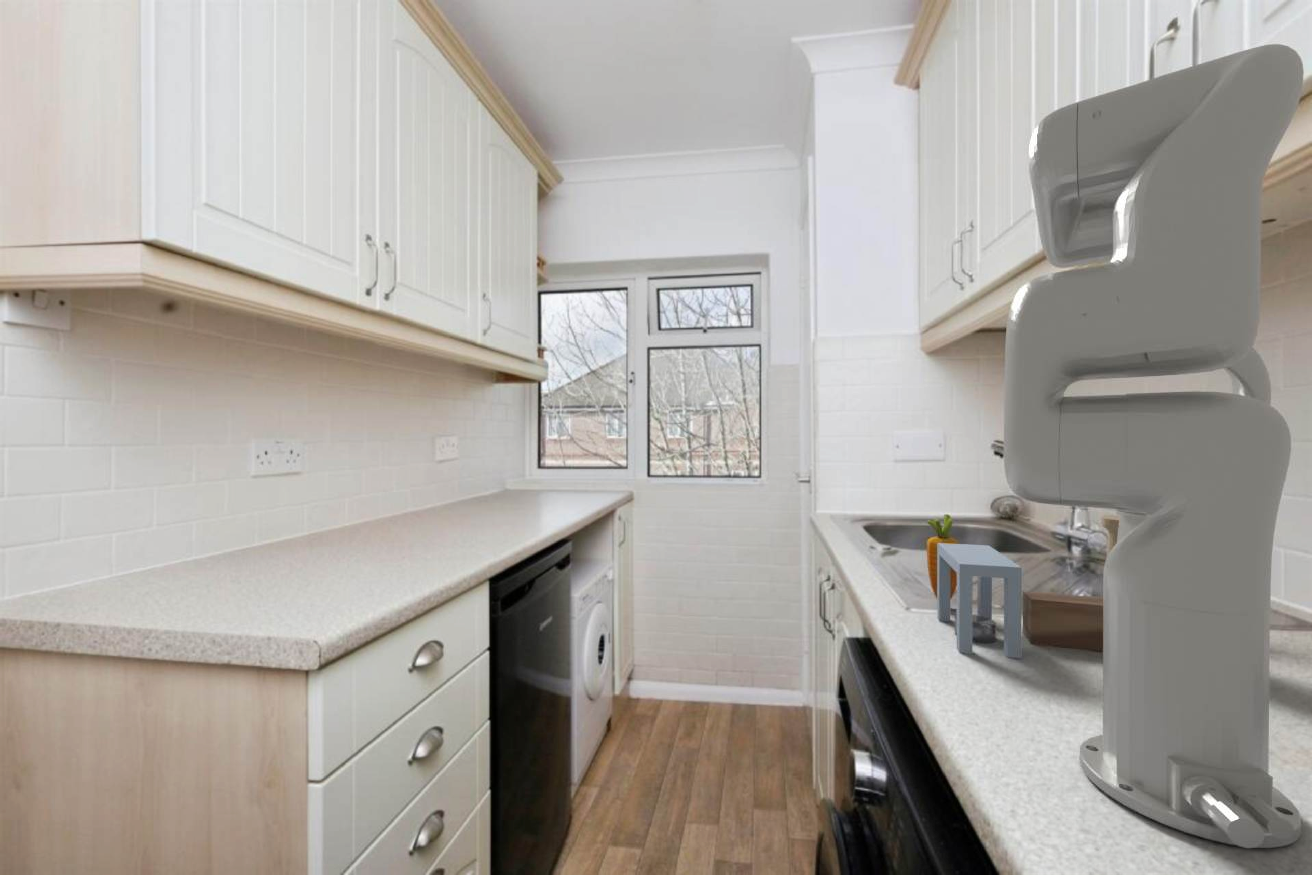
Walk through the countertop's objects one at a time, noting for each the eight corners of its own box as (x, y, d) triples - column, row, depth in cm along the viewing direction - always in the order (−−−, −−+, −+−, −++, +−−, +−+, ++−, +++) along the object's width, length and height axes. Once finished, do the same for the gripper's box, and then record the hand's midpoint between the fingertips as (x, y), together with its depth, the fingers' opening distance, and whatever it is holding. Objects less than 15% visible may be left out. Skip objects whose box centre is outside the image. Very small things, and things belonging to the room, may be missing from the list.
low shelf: (1021, 658, 70) (1021, 567, 70) (959, 652, 72) (959, 563, 72) (988, 621, 83) (988, 545, 83) (937, 617, 85) (937, 542, 85)
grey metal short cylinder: (1001, 645, 74) (1001, 628, 74) (959, 642, 76) (959, 624, 76) (989, 632, 79) (989, 616, 79) (951, 629, 81) (951, 613, 81)
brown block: (1201, 662, 69) (1201, 613, 68) (1030, 643, 75) (1030, 599, 75) (1183, 650, 72) (1183, 604, 72) (1022, 633, 78) (1022, 590, 78)
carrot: (939, 612, 88) (939, 517, 87) (919, 603, 92) (919, 513, 92) (967, 610, 88) (968, 516, 88) (946, 601, 93) (946, 512, 93)
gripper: (1237, 515, 62) (1236, 677, 63) (1151, 498, 79) (1150, 626, 79) (1156, 513, 65) (1155, 669, 65) (1089, 496, 81) (1088, 621, 81)
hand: (1152, 644), depth 72 cm, fingers closed on brown block, 4 cm apart
